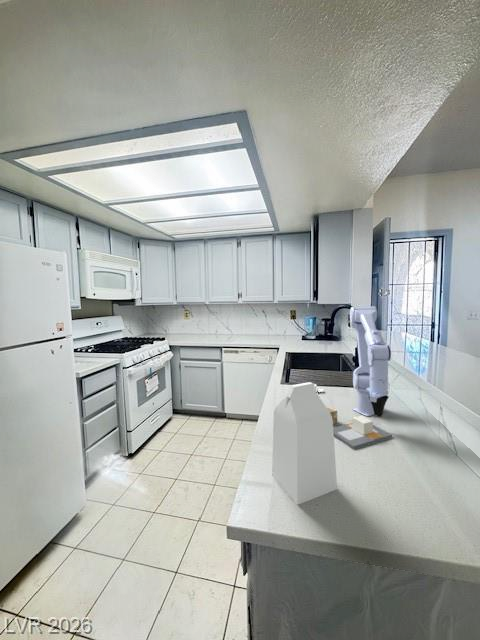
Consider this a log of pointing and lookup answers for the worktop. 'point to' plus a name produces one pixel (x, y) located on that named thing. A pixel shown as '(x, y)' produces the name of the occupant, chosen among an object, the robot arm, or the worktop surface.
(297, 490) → the milk
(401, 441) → the worktop surface
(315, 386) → the teacup and saucer
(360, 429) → the cream white cube
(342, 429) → the breaker panel
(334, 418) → the block
